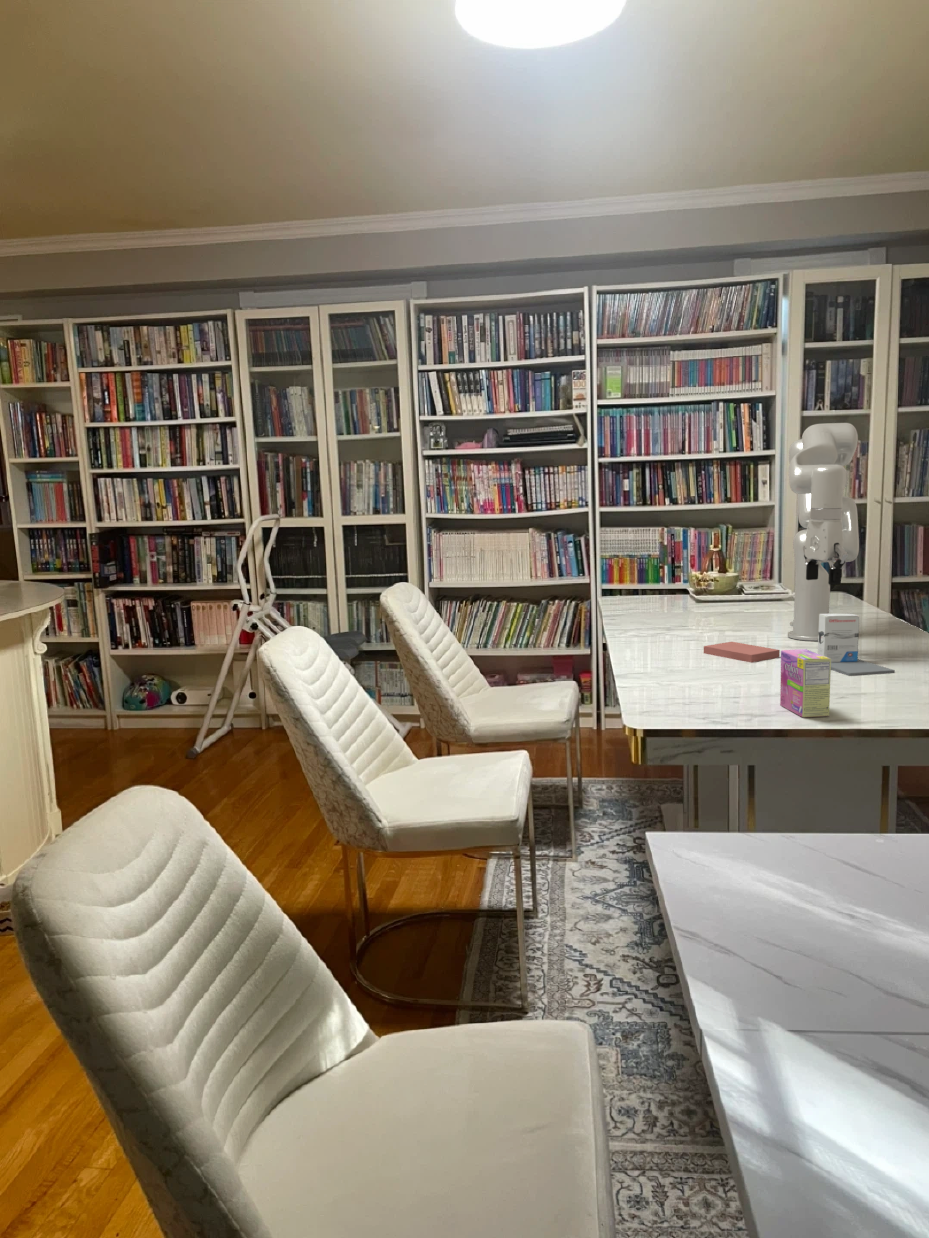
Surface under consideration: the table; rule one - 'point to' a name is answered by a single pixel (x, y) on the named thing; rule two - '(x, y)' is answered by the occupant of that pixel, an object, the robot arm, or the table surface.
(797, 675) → the box
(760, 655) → the hardcover book
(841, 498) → the robot arm
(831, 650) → the ink box
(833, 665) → the slate mat
